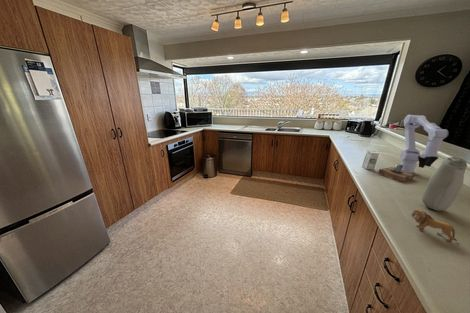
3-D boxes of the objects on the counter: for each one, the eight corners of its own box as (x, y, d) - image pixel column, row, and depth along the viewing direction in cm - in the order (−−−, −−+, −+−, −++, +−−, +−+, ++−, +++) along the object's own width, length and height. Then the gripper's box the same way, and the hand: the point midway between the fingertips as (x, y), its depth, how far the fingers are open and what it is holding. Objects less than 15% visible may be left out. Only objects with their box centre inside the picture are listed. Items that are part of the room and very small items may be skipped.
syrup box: (369, 167, 140) (374, 150, 135) (373, 170, 134) (379, 152, 129) (361, 166, 140) (366, 150, 135) (366, 169, 135) (371, 152, 130)
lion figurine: (407, 228, 75) (415, 211, 72) (405, 221, 79) (412, 205, 76) (458, 245, 66) (470, 227, 63) (453, 237, 70) (464, 219, 67)
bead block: (390, 171, 133) (391, 167, 132) (412, 179, 121) (414, 174, 119) (378, 173, 129) (379, 169, 127) (400, 181, 116) (401, 177, 115)
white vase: (451, 216, 83) (480, 163, 73) (422, 209, 88) (446, 158, 78) (442, 206, 91) (467, 157, 81) (415, 200, 96) (437, 153, 86)
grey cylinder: (393, 174, 127) (397, 163, 124) (400, 177, 123) (404, 165, 120) (390, 175, 126) (394, 164, 123) (396, 177, 122) (400, 166, 119)
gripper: (434, 150, 105) (425, 170, 110) (447, 148, 110) (438, 167, 114) (419, 147, 111) (412, 166, 116) (432, 145, 116) (424, 164, 120)
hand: (424, 166), depth 115 cm, fingers open, 7 cm apart
